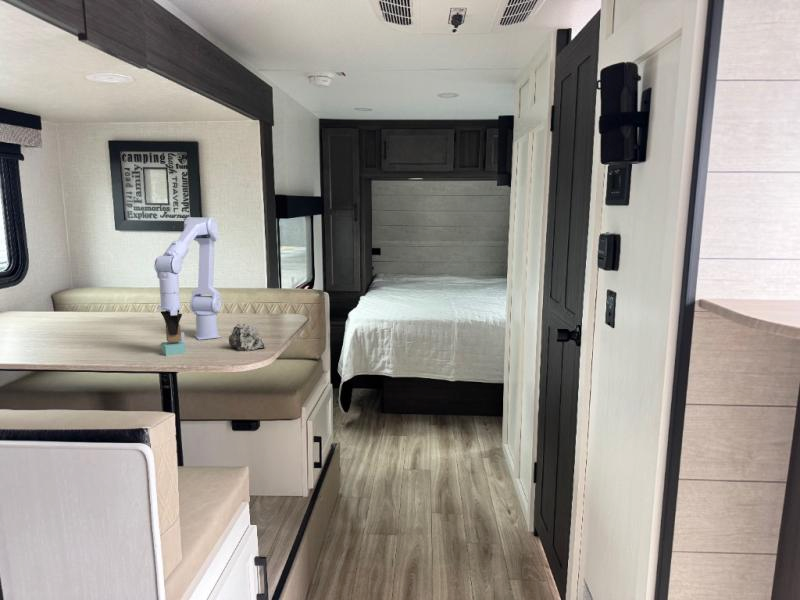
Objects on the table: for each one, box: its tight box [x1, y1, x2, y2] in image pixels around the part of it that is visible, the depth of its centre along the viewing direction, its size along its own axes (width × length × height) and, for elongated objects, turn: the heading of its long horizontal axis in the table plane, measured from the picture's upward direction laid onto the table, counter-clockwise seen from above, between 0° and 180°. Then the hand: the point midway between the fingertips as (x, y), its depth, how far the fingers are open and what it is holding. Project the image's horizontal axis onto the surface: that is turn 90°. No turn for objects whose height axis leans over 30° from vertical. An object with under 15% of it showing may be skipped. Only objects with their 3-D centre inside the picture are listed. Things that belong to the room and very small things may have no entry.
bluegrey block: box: [181, 331, 186, 344], centre depth 182 cm, size 4×4×5 cm
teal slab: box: [161, 341, 187, 357], centre depth 174 cm, size 6×6×4 cm
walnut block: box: [165, 324, 182, 342], centre depth 174 cm, size 4×4×5 cm
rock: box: [228, 323, 266, 351], centre depth 181 cm, size 13×10×10 cm
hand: (172, 333), depth 174 cm, fingers closed on walnut block, 4 cm apart
